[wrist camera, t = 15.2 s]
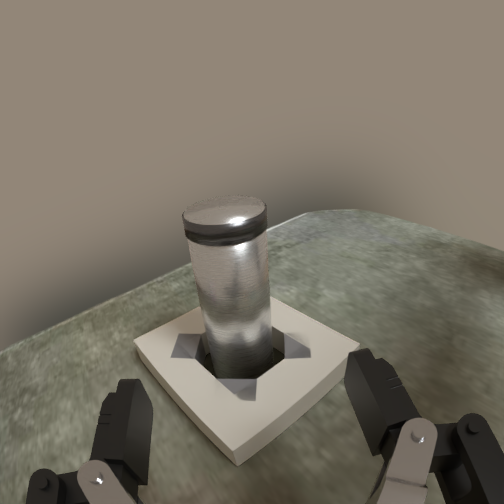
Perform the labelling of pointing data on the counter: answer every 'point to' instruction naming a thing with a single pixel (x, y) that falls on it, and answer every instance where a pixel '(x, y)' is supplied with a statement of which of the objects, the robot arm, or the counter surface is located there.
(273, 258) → the counter surface
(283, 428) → the mount plate
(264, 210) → the grey cylindrical piece
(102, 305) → the counter surface
